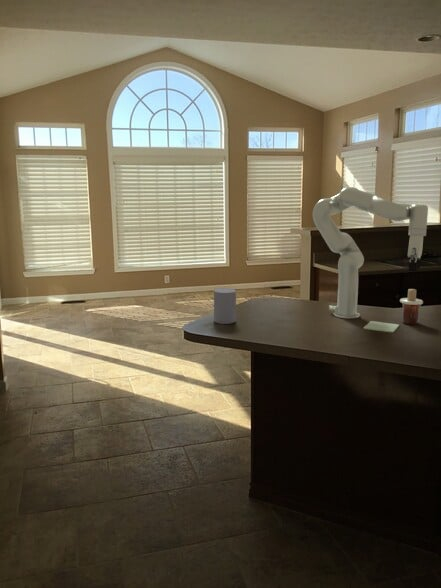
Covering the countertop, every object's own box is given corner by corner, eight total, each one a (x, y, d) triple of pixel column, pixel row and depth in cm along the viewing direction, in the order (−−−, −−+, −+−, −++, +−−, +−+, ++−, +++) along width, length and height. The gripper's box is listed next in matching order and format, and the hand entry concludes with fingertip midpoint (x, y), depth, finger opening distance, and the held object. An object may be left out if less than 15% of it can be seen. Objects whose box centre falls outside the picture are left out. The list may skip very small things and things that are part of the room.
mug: (399, 320, 252) (400, 299, 249) (418, 321, 250) (419, 300, 248) (402, 326, 240) (404, 305, 238) (422, 327, 238) (424, 305, 236)
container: (216, 318, 254) (216, 288, 251) (237, 319, 252) (237, 289, 249) (211, 323, 244) (211, 292, 241) (233, 325, 242) (233, 293, 239)
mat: (363, 328, 236) (363, 327, 236) (370, 322, 248) (370, 321, 247) (393, 332, 230) (393, 331, 230) (399, 325, 241) (399, 324, 241)
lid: (398, 303, 241) (399, 290, 240) (402, 299, 250) (403, 286, 249) (420, 305, 237) (422, 292, 235) (424, 301, 245) (425, 289, 244)
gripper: (412, 230, 245) (409, 266, 249) (405, 233, 231) (402, 271, 234) (428, 231, 242) (425, 267, 245) (423, 234, 227) (419, 273, 231)
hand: (414, 269), depth 240 cm, fingers open, 9 cm apart
